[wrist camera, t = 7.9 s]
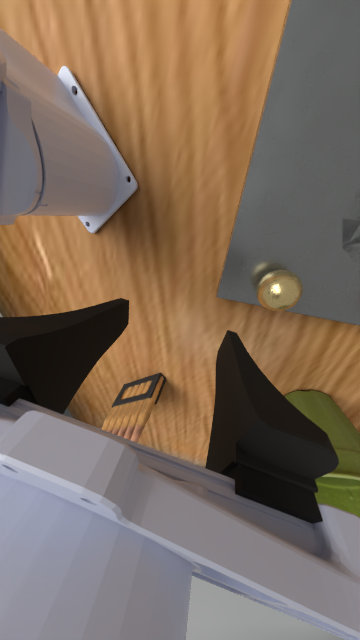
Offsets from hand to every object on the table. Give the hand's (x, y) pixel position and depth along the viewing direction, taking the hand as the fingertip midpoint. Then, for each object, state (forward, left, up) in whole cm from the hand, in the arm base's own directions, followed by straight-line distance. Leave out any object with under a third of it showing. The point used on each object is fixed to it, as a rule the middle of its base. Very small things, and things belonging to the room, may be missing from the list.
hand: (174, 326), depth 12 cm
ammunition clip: (+13, -20, -11) cm, 26 cm away
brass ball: (+3, +7, -6) cm, 10 cm away
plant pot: (+26, +5, -11) cm, 29 cm away
